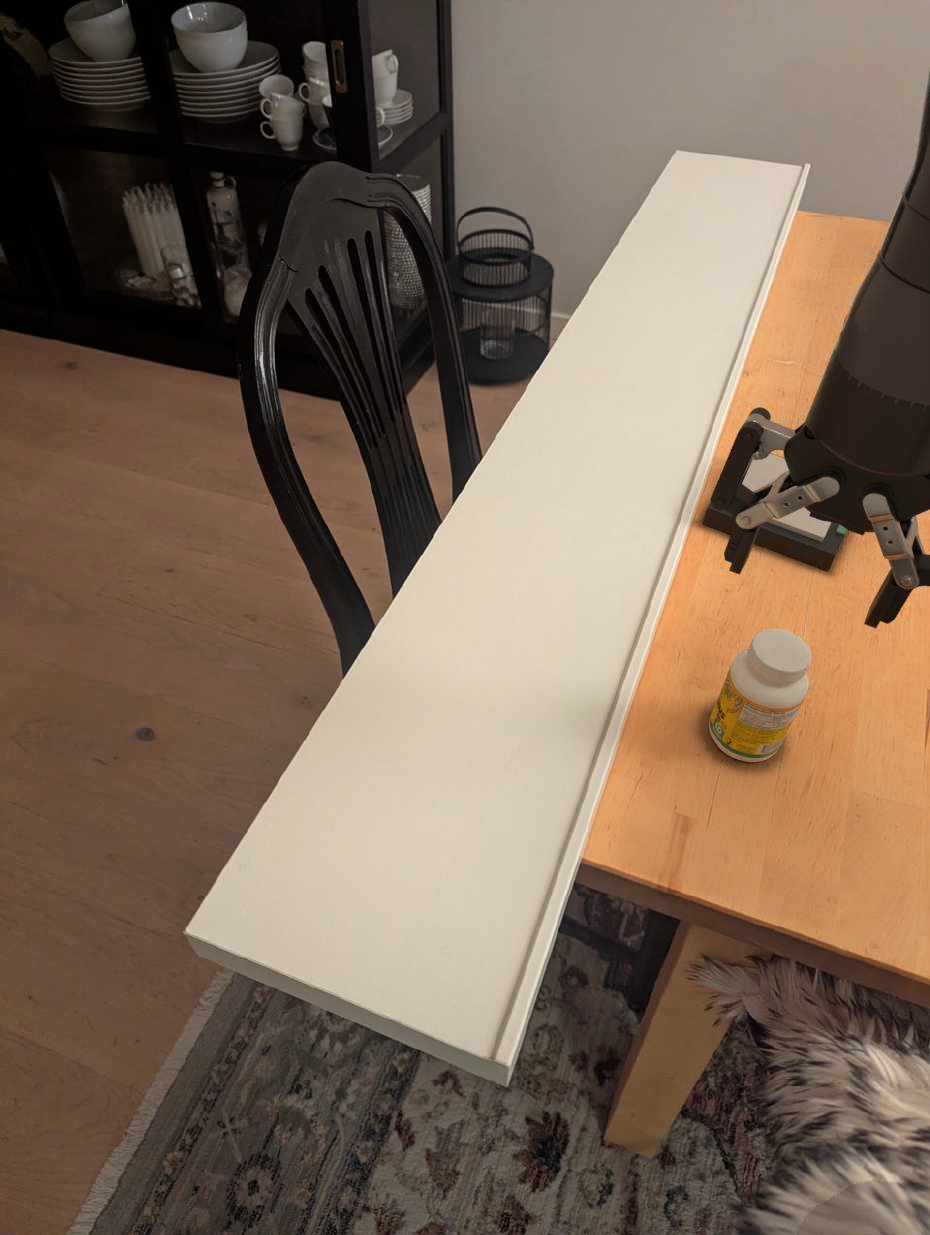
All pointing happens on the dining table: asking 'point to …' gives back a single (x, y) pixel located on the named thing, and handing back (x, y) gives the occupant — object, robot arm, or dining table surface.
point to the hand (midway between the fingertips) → (804, 591)
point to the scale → (785, 522)
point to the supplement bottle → (761, 696)
